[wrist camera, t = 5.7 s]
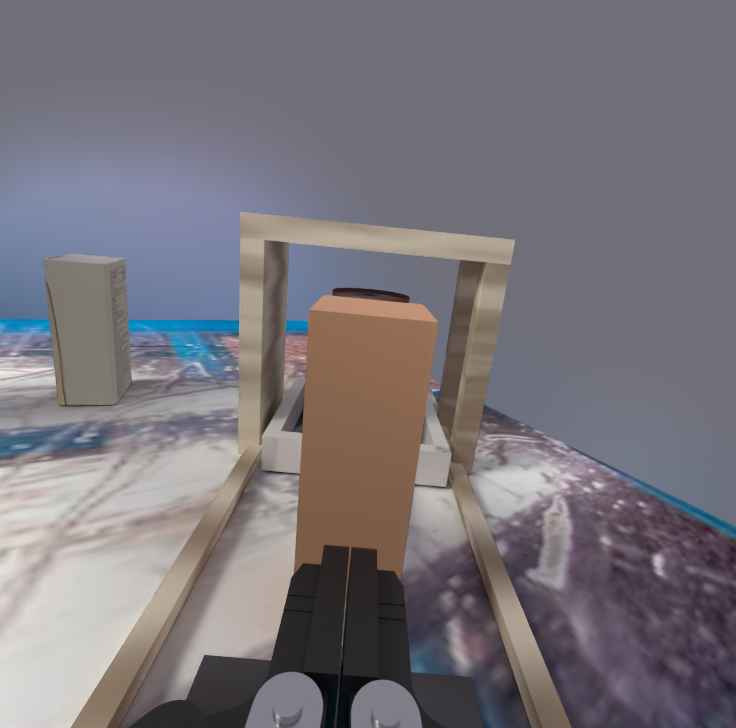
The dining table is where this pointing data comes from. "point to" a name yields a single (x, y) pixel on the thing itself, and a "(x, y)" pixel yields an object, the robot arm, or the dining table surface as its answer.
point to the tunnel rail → (256, 409)
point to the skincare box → (88, 328)
